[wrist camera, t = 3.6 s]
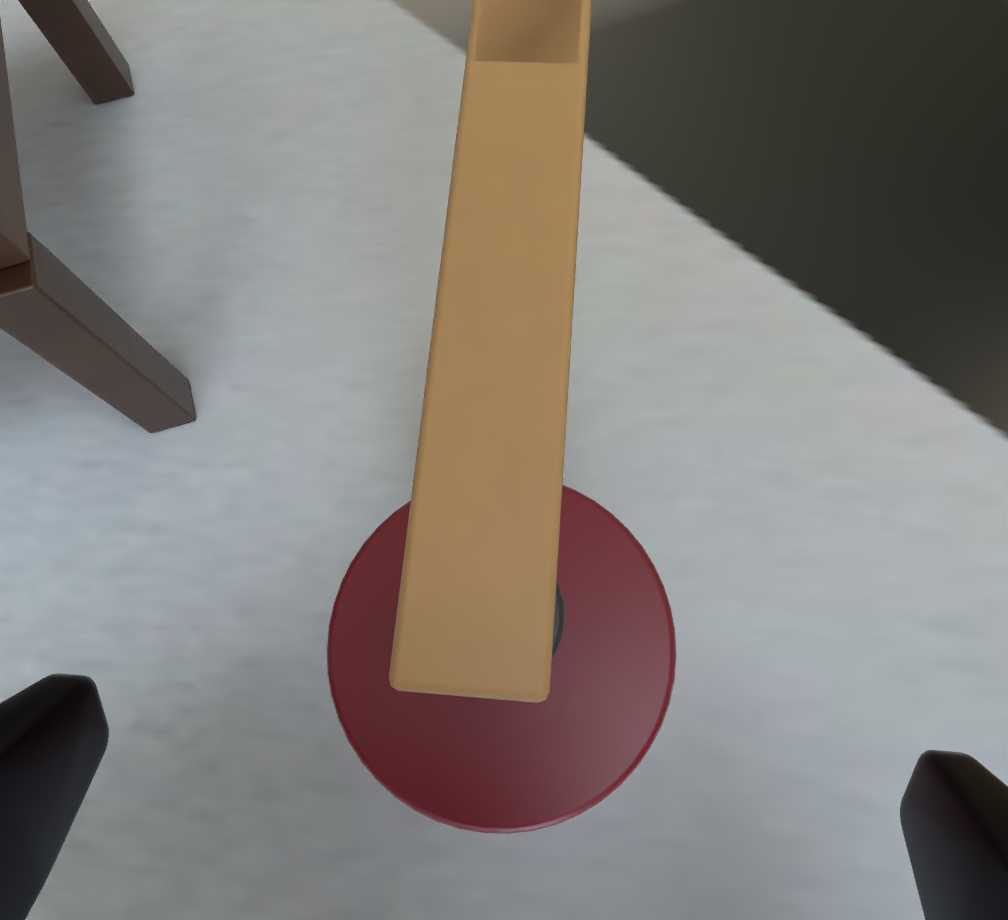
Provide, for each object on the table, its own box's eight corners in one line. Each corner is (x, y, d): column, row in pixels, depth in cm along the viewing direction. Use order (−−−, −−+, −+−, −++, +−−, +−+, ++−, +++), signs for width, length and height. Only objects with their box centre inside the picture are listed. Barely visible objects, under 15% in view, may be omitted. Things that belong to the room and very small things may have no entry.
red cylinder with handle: (598, 771, 16) (794, 980, 4) (422, 755, 16) (112, 907, 4) (611, 456, 18) (763, -17, 6) (456, 445, 18) (312, -30, 6)
